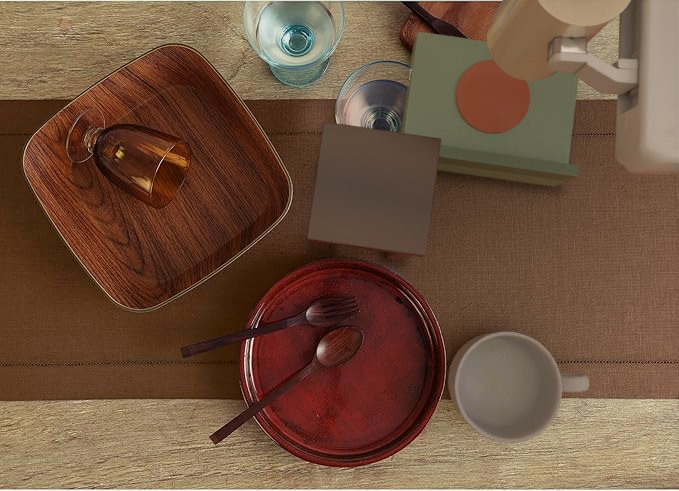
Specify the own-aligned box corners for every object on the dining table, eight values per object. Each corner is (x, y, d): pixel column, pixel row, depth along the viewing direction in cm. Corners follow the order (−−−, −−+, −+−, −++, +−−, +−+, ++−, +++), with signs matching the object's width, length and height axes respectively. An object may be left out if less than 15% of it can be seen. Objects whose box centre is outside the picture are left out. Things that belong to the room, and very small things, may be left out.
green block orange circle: (412, 45, 70) (421, 19, 63) (567, 68, 70) (593, 44, 63) (396, 164, 69) (403, 151, 62) (552, 187, 69) (577, 176, 62)
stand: (325, 163, 69) (323, 121, 51) (412, 175, 69) (441, 138, 51) (312, 250, 68) (306, 239, 50) (400, 263, 68) (425, 256, 50)
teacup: (433, 416, 67) (448, 434, 59) (448, 319, 68) (464, 324, 60) (557, 436, 68) (588, 456, 60) (570, 338, 68) (602, 346, 60)
